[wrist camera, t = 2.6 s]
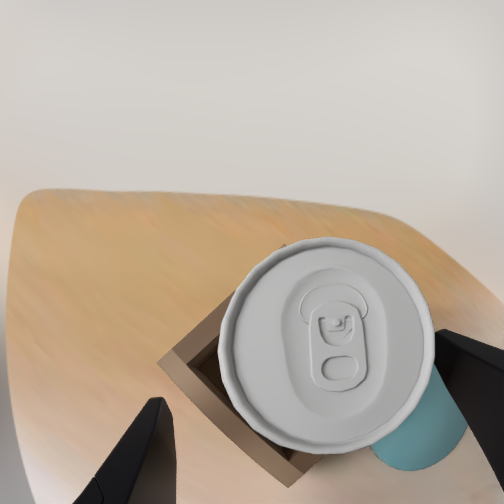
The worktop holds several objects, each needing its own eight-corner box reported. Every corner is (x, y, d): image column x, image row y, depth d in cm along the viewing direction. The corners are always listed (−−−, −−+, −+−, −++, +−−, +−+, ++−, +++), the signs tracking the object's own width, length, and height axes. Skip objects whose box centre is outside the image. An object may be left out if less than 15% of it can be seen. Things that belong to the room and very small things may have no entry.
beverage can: (320, 325, 18) (420, 229, 7) (324, 406, 16) (447, 434, 5) (237, 329, 18) (214, 232, 7) (238, 411, 16) (216, 468, 5)
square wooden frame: (381, 362, 17) (407, 356, 13) (281, 469, 14) (288, 488, 11) (278, 268, 19) (284, 244, 16) (173, 366, 17) (156, 362, 13)
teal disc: (484, 392, 15) (488, 392, 15) (418, 488, 13) (421, 490, 13) (417, 324, 18) (420, 323, 17) (338, 424, 15) (340, 425, 15)
